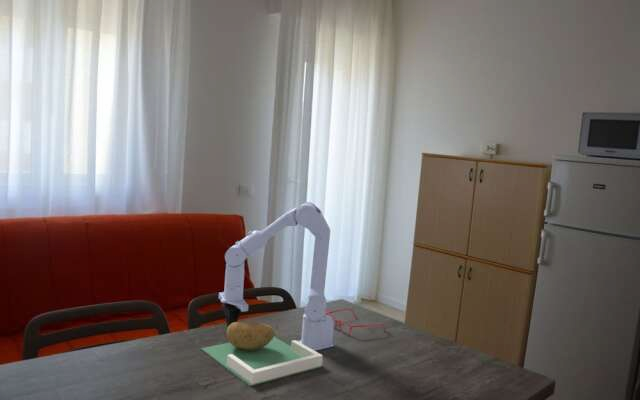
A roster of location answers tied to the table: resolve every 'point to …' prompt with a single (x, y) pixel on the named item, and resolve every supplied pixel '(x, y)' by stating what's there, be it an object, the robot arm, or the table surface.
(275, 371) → the white angular frame
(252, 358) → the green mat
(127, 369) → the table surface
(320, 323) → the robot arm
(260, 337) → the potato
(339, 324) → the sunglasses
